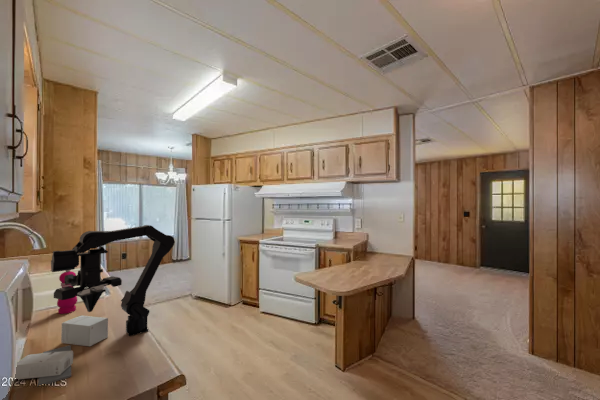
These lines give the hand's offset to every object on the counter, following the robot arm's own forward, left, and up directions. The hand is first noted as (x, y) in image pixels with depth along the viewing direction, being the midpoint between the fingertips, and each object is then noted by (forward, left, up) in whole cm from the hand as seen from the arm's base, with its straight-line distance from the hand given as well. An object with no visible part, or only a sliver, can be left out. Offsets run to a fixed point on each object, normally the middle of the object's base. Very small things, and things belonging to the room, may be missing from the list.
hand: (89, 311), depth 95 cm
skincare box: (+6, +14, -10) cm, 18 cm away
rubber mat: (+8, +7, -12) cm, 16 cm away
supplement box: (+5, -11, -8) cm, 15 cm away
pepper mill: (+6, -46, -12) cm, 48 cm away
